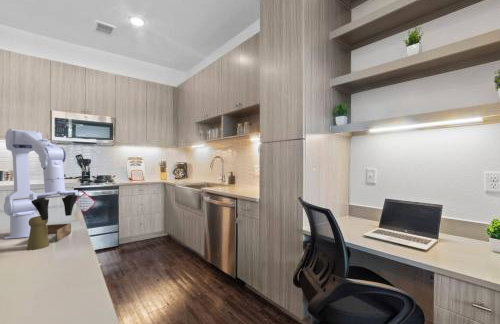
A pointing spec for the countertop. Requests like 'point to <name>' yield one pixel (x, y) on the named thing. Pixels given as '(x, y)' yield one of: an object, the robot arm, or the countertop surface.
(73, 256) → the countertop surface
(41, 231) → the cork
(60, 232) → the wooden bracket shelf
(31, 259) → the countertop surface
